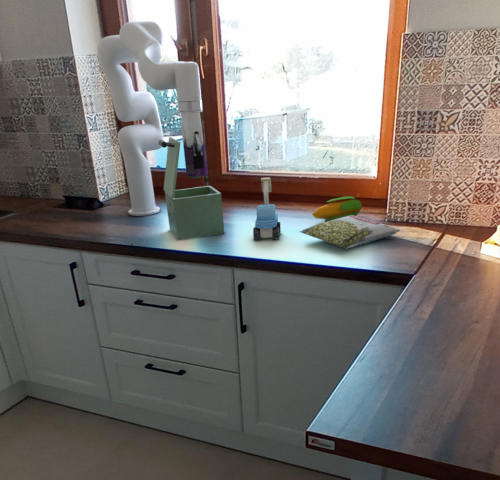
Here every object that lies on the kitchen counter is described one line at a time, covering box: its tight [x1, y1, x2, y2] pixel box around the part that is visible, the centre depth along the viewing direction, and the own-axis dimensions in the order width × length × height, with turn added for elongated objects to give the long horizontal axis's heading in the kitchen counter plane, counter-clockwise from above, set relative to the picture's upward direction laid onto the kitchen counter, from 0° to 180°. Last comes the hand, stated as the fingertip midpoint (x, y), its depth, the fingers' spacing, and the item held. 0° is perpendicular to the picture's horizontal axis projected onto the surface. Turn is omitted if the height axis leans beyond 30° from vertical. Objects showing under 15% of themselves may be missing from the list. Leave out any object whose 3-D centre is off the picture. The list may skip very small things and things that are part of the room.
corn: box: [311, 196, 363, 223], centre depth 206 cm, size 7×8×20 cm
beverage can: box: [182, 139, 209, 179], centre depth 193 cm, size 7×7×12 cm
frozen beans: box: [299, 215, 401, 250], centre depth 185 cm, size 21×6×25 cm
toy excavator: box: [252, 177, 282, 241], centre depth 192 cm, size 9×17×17 cm, turn 174°
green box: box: [164, 185, 225, 241], centre depth 201 cm, size 16×14×13 cm
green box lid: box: [158, 136, 182, 198], centre depth 191 cm, size 17×14×5 cm
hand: (196, 166), depth 194 cm, fingers closed on beverage can, 6 cm apart
